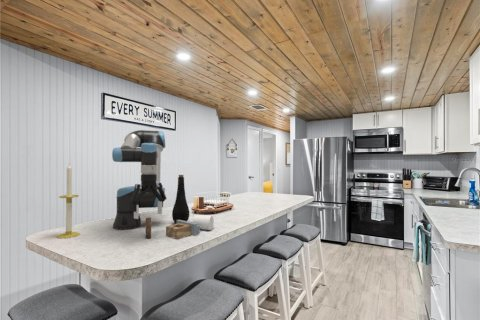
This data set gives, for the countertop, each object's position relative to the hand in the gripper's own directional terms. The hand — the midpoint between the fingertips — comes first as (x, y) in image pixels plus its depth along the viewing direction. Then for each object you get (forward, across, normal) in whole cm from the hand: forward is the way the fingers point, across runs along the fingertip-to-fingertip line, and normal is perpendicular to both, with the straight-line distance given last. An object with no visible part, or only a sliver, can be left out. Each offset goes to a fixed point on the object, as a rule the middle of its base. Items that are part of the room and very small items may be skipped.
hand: (148, 216), depth 128 cm
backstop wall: (+11, +19, -9) cm, 24 cm away
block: (+11, +12, -9) cm, 18 cm away
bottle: (+11, +30, +10) cm, 34 cm away
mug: (+11, +30, -10) cm, 34 cm away
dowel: (+11, 0, 0) cm, 11 cm away
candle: (+11, -22, +36) cm, 44 cm away
